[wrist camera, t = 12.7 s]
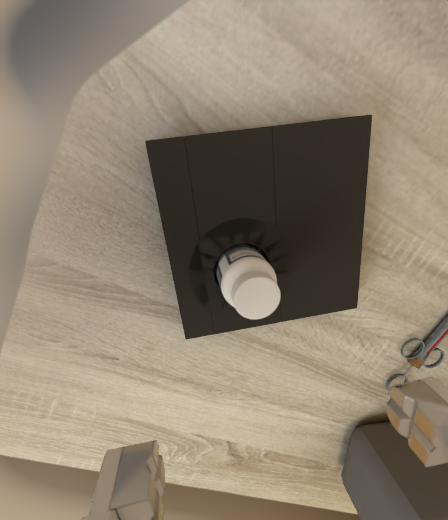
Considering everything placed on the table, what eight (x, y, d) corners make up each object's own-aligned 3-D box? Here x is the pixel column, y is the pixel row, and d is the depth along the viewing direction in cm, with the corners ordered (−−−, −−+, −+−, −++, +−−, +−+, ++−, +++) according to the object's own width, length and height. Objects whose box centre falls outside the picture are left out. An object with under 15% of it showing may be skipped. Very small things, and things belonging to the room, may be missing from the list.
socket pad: (185, 324, 32) (185, 339, 29) (149, 143, 25) (144, 140, 22) (342, 296, 33) (357, 308, 31) (352, 119, 26) (372, 114, 23)
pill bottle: (243, 290, 31) (264, 336, 23) (205, 270, 30) (213, 312, 21) (268, 253, 30) (300, 288, 22) (230, 230, 28) (249, 258, 20)
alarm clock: (334, 466, 46) (404, 607, 31) (346, 418, 42) (432, 554, 27) (418, 453, 48) (520, 580, 33) (437, 407, 44) (561, 527, 29)
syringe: (484, 301, 37) (498, 307, 36) (402, 393, 42) (411, 402, 40) (450, 279, 35) (463, 285, 33) (367, 379, 39) (375, 388, 38)
